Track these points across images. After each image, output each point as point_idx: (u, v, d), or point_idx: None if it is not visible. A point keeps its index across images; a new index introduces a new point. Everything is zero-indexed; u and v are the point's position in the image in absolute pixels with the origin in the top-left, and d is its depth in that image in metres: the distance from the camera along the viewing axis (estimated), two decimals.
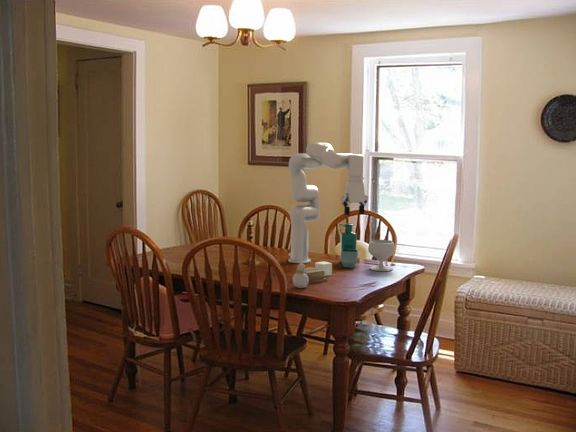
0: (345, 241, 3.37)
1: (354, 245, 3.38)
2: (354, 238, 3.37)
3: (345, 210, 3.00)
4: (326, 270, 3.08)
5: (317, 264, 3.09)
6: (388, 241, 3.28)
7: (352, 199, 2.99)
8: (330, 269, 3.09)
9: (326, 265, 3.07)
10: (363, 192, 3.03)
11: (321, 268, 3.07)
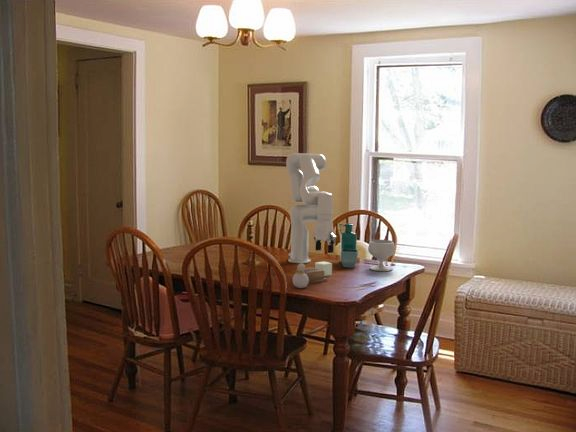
0: (345, 241, 3.37)
1: (354, 245, 3.38)
2: (354, 238, 3.37)
3: (331, 248, 3.04)
4: (326, 270, 3.08)
5: (317, 264, 3.09)
6: (388, 241, 3.28)
7: None
8: (330, 269, 3.09)
9: (326, 265, 3.07)
10: None
11: (321, 268, 3.07)
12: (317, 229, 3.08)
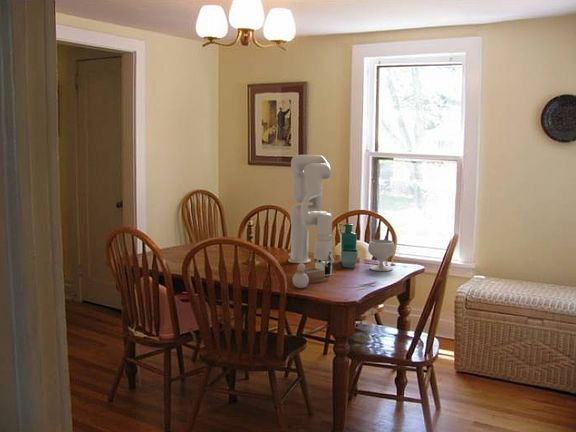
0: (345, 241, 3.37)
1: (354, 245, 3.38)
2: (354, 238, 3.37)
3: (328, 270, 3.07)
4: None
5: (317, 264, 3.09)
6: (388, 241, 3.28)
7: None
8: (330, 269, 3.09)
9: None
10: None
11: (321, 268, 3.07)
12: (316, 249, 3.09)
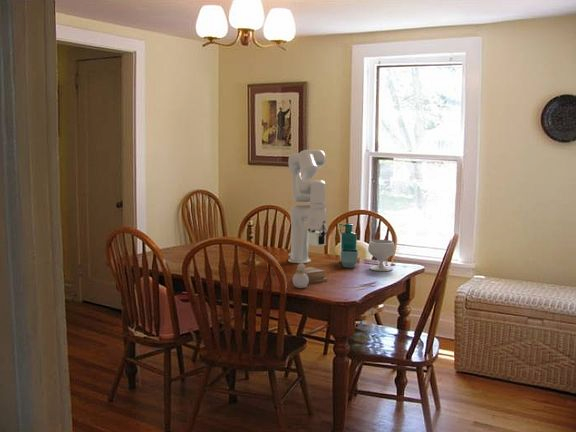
0: (345, 241, 3.37)
1: (354, 245, 3.38)
2: (354, 238, 3.37)
3: (322, 240, 2.97)
4: None
5: (311, 234, 3.00)
6: (388, 241, 3.28)
7: None
8: (324, 239, 2.99)
9: None
10: None
11: (315, 237, 2.97)
12: (310, 218, 3.00)
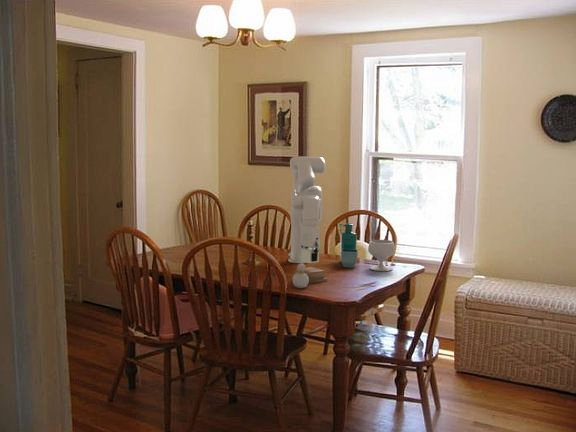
0: (345, 241, 3.37)
1: (354, 245, 3.38)
2: (354, 238, 3.37)
3: (315, 257, 2.92)
4: None
5: (303, 250, 2.94)
6: (388, 241, 3.28)
7: None
8: (317, 256, 2.94)
9: None
10: None
11: (307, 254, 2.92)
12: (303, 235, 2.95)
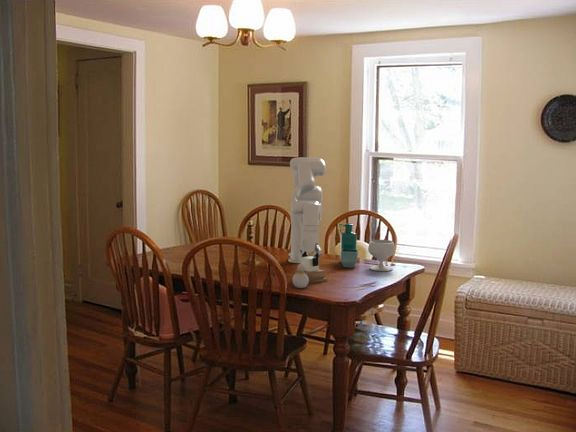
0: (345, 241, 3.37)
1: (354, 245, 3.38)
2: (354, 238, 3.37)
3: (316, 261, 2.91)
4: None
5: (303, 259, 2.95)
6: (388, 241, 3.28)
7: None
8: None
9: None
10: None
11: (307, 263, 2.92)
12: (302, 240, 2.95)
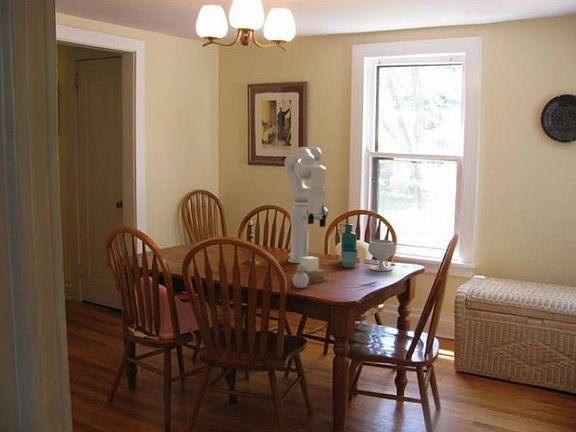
0: (345, 241, 3.37)
1: (354, 245, 3.38)
2: (354, 238, 3.37)
3: (323, 222, 3.04)
4: (313, 265, 2.93)
5: (303, 259, 2.95)
6: (388, 241, 3.28)
7: None
8: (317, 264, 2.95)
9: (313, 260, 2.93)
10: None
11: (307, 263, 2.92)
12: (310, 203, 3.07)
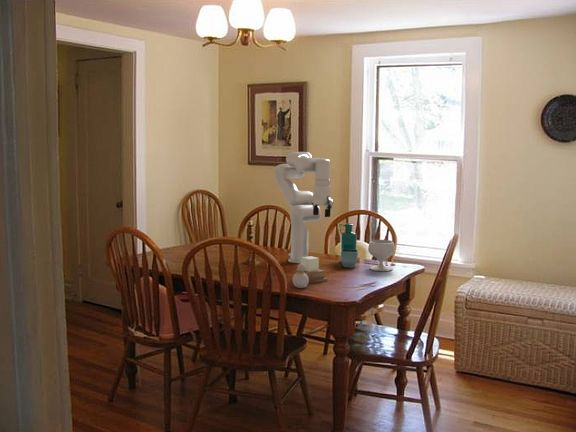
0: (345, 241, 3.37)
1: (354, 245, 3.38)
2: (354, 238, 3.37)
3: (328, 212, 3.14)
4: (313, 265, 2.93)
5: (303, 259, 2.95)
6: (388, 241, 3.28)
7: None
8: (317, 264, 2.95)
9: (313, 260, 2.93)
10: None
11: (307, 263, 2.92)
12: (315, 194, 3.18)
